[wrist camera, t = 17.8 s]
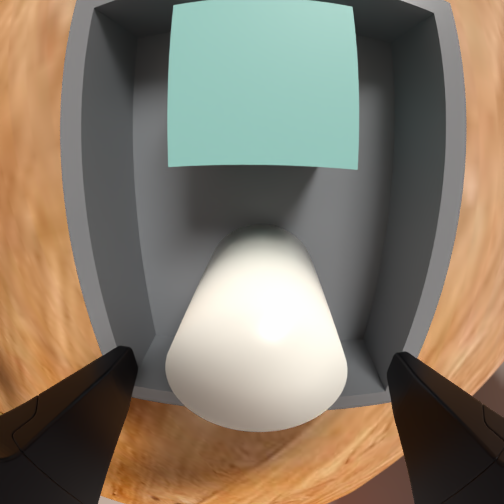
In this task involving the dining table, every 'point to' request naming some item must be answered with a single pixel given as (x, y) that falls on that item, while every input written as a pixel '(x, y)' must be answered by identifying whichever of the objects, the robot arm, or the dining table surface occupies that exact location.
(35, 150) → the dining table surface
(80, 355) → the dining table surface
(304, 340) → the white cylinder
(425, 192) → the tote
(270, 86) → the teal cube
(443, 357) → the dining table surface
